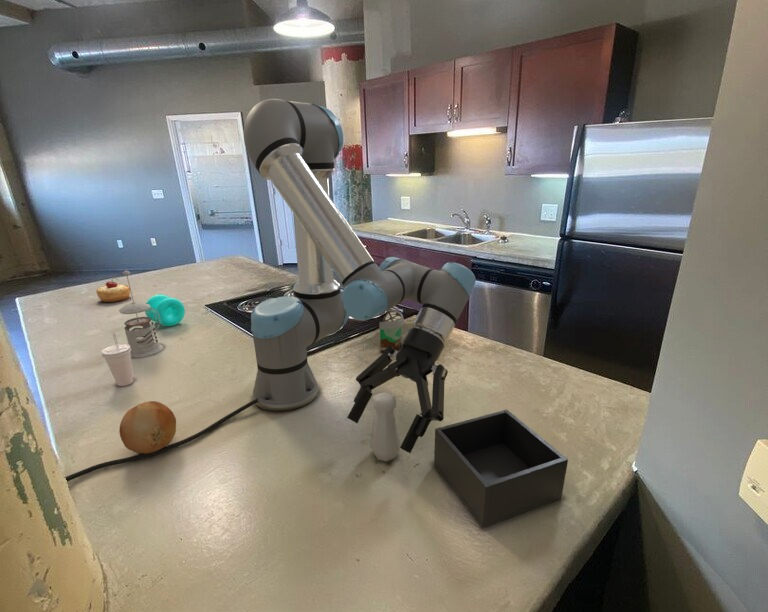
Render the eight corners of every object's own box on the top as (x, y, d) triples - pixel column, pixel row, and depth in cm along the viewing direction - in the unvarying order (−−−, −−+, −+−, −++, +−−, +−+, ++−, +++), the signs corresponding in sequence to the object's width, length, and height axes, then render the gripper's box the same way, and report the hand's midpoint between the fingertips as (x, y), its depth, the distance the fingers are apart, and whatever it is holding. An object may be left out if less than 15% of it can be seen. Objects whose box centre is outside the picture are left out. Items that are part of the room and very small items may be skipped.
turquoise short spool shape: (173, 316, 155) (168, 290, 151) (188, 321, 149) (183, 295, 146) (146, 324, 147) (140, 298, 144) (161, 330, 142) (154, 303, 138)
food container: (400, 356, 120) (400, 324, 117) (379, 354, 121) (379, 322, 118) (406, 339, 132) (407, 309, 128) (387, 337, 133) (387, 308, 129)
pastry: (92, 303, 172) (86, 282, 168) (113, 294, 182) (108, 274, 179) (117, 304, 170) (112, 283, 166) (138, 295, 180) (133, 275, 177)
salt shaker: (369, 445, 83) (367, 388, 78) (398, 443, 83) (398, 386, 79) (371, 465, 77) (369, 405, 73) (402, 463, 78) (401, 403, 73)
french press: (119, 354, 125) (97, 273, 116) (152, 339, 135) (134, 264, 126) (142, 359, 121) (121, 276, 112) (175, 344, 131) (158, 266, 122)
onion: (144, 471, 77) (131, 426, 73) (116, 453, 82) (102, 410, 78) (191, 442, 85) (181, 400, 81) (162, 427, 90) (152, 387, 86)
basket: (482, 528, 64) (485, 487, 61) (433, 464, 77) (434, 428, 74) (561, 498, 69) (568, 459, 66) (503, 443, 83) (506, 409, 80)
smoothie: (144, 379, 110) (132, 330, 105) (121, 390, 105) (107, 339, 100) (128, 374, 113) (115, 326, 108) (105, 385, 107) (90, 335, 102)
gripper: (490, 362, 76) (440, 470, 71) (390, 328, 92) (343, 415, 87) (477, 344, 71) (421, 460, 66) (373, 312, 87) (321, 404, 82)
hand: (376, 435), depth 77 cm, fingers open, 13 cm apart
